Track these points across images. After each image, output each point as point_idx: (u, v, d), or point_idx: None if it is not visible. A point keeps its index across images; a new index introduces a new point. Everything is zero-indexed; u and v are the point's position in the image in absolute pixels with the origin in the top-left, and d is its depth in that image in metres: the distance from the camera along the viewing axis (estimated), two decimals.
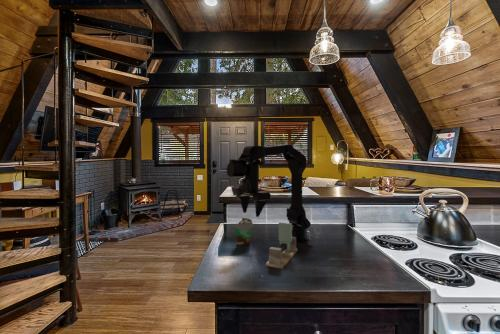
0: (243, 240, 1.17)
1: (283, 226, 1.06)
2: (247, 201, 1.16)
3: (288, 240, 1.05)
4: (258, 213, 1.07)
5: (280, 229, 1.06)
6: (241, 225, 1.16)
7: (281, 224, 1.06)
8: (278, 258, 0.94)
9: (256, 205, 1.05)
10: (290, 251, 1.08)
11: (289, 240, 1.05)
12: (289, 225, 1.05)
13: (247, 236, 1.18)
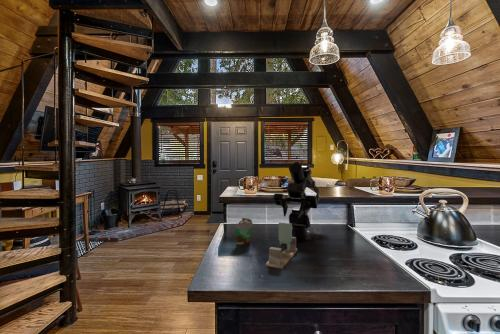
0: (243, 240, 1.17)
1: (283, 226, 1.06)
2: (286, 209, 1.19)
3: (288, 240, 1.05)
4: (300, 214, 1.13)
5: (280, 229, 1.06)
6: (241, 225, 1.16)
7: (281, 224, 1.06)
8: (278, 258, 0.94)
9: (302, 206, 1.14)
10: (290, 251, 1.08)
11: (289, 240, 1.05)
12: (289, 225, 1.05)
13: (247, 236, 1.18)
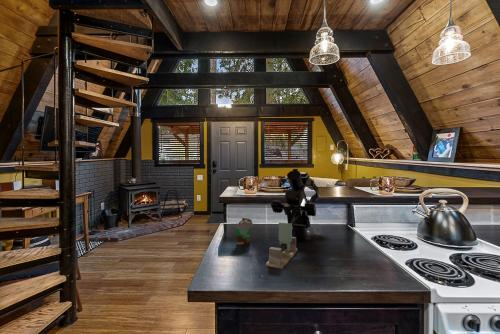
0: (243, 240, 1.17)
1: (283, 226, 1.06)
2: None
3: (288, 240, 1.05)
4: (291, 222, 1.11)
5: (280, 229, 1.06)
6: (241, 225, 1.16)
7: (281, 224, 1.06)
8: (278, 258, 0.94)
9: (293, 213, 1.12)
10: (290, 251, 1.08)
11: (289, 240, 1.05)
12: (289, 225, 1.05)
13: (247, 236, 1.18)
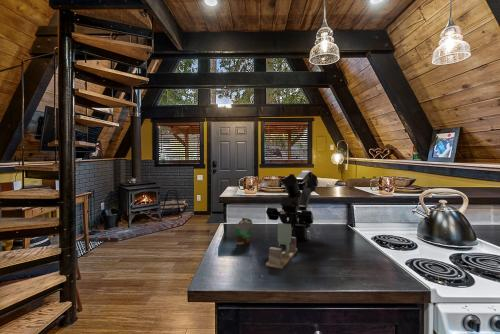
0: (243, 240, 1.17)
1: (282, 227, 1.05)
2: None
3: (287, 241, 1.04)
4: None
5: (279, 230, 1.05)
6: (241, 225, 1.16)
7: (280, 225, 1.05)
8: (278, 258, 0.94)
9: (290, 221, 1.07)
10: (290, 251, 1.08)
11: (288, 241, 1.04)
12: (288, 226, 1.04)
13: (247, 236, 1.18)
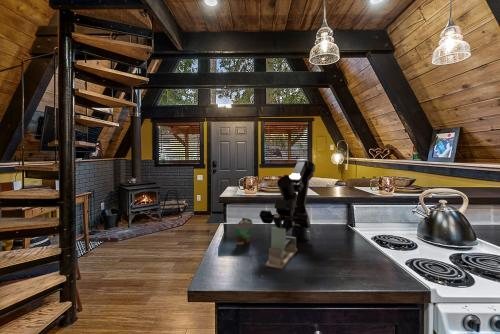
0: (243, 240, 1.17)
1: (276, 231, 0.98)
2: None
3: (281, 246, 0.97)
4: None
5: (273, 234, 0.99)
6: (241, 225, 1.16)
7: (274, 229, 0.98)
8: (278, 258, 0.94)
9: (284, 225, 1.01)
10: (290, 251, 1.08)
11: (282, 246, 0.97)
12: (282, 230, 0.97)
13: (247, 236, 1.18)
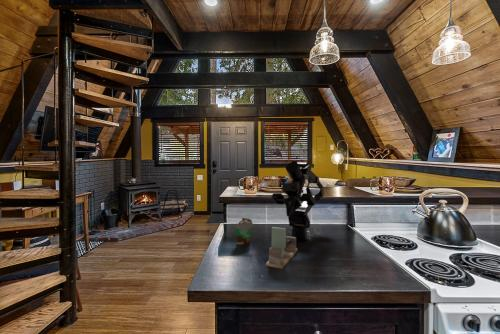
0: (243, 240, 1.17)
1: (276, 231, 0.98)
2: None
3: (282, 246, 0.98)
4: (290, 213, 1.15)
5: (273, 234, 0.99)
6: (241, 225, 1.16)
7: (274, 229, 0.99)
8: (278, 258, 0.94)
9: (292, 204, 1.15)
10: (290, 251, 1.08)
11: (283, 246, 0.98)
12: (283, 230, 0.97)
13: (247, 236, 1.18)
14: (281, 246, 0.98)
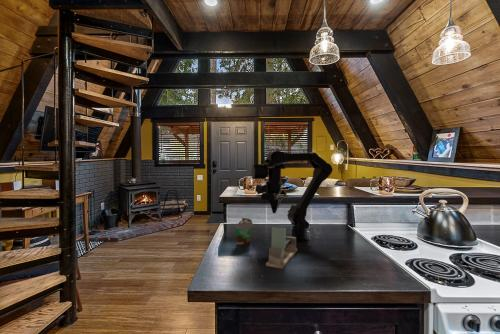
0: (243, 240, 1.17)
1: (276, 231, 0.98)
2: None
3: (282, 246, 0.98)
4: (273, 210, 1.23)
5: (273, 234, 0.99)
6: (241, 225, 1.16)
7: (274, 229, 0.99)
8: (278, 258, 0.94)
9: None
10: (290, 251, 1.08)
11: (283, 246, 0.98)
12: (283, 230, 0.97)
13: (247, 236, 1.18)
14: (281, 246, 0.98)
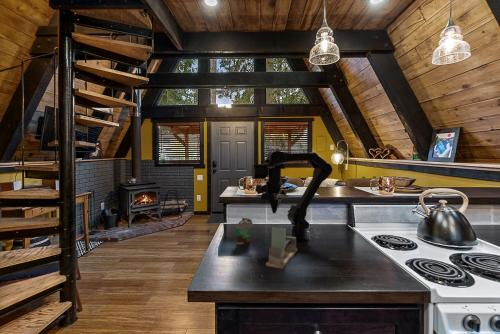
0: (243, 240, 1.17)
1: (276, 231, 0.98)
2: None
3: (282, 246, 0.98)
4: (273, 210, 1.23)
5: (273, 234, 0.99)
6: (241, 225, 1.16)
7: (274, 229, 0.99)
8: (278, 258, 0.94)
9: None
10: (290, 251, 1.08)
11: (283, 246, 0.98)
12: (283, 230, 0.97)
13: (247, 236, 1.18)
14: (281, 246, 0.98)
